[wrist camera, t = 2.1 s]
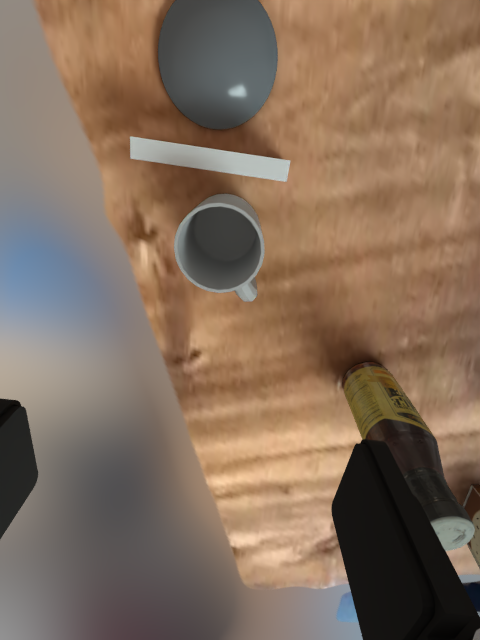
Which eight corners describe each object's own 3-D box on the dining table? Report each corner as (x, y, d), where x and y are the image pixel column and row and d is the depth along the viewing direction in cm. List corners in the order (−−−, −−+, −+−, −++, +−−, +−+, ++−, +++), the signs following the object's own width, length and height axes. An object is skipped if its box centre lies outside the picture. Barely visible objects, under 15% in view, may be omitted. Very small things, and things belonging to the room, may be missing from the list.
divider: (147, 140, 31) (130, 136, 26) (283, 160, 31) (290, 160, 27) (146, 159, 31) (130, 158, 27) (280, 178, 32) (286, 181, 27)
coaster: (161, -28, 26) (159, -32, 25) (287, -6, 26) (288, -9, 25) (158, 120, 30) (156, 119, 29) (266, 137, 30) (266, 136, 30)
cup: (241, 179, 32) (239, 184, 24) (281, 267, 36) (292, 298, 28) (177, 213, 33) (156, 229, 25) (223, 295, 37) (217, 331, 29)
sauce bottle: (398, 382, 42) (510, 545, 24) (355, 405, 44) (431, 573, 26) (373, 348, 40) (476, 498, 22) (329, 374, 42) (392, 533, 24)
